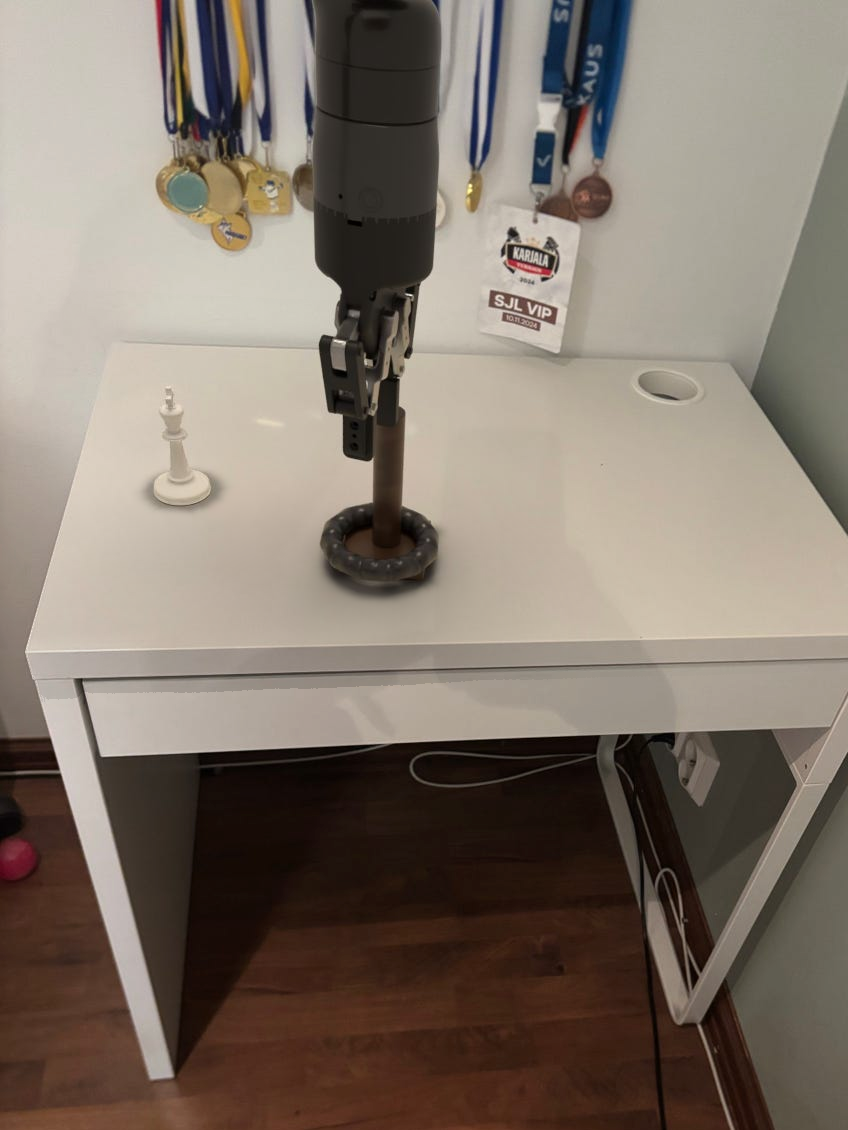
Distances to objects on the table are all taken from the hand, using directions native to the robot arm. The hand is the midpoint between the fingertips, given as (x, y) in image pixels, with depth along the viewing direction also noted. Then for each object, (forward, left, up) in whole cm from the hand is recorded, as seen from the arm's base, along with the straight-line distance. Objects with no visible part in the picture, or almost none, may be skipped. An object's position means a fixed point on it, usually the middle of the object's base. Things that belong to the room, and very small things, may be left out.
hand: (371, 439), depth 69 cm
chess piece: (-18, +10, -13) cm, 25 cm away
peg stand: (+1, +4, -13) cm, 14 cm away
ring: (+1, +3, -11) cm, 11 cm away
